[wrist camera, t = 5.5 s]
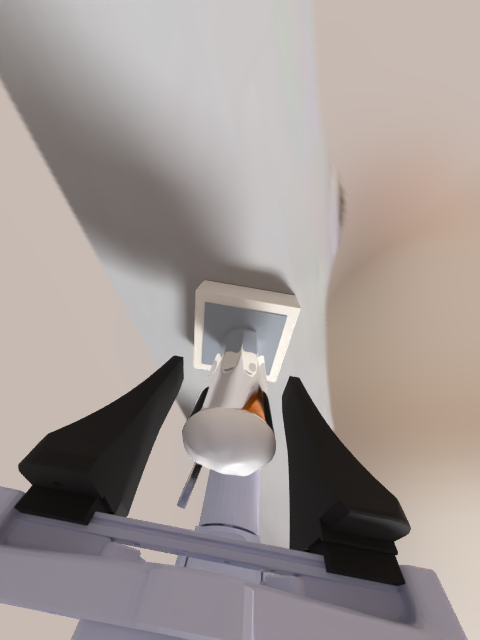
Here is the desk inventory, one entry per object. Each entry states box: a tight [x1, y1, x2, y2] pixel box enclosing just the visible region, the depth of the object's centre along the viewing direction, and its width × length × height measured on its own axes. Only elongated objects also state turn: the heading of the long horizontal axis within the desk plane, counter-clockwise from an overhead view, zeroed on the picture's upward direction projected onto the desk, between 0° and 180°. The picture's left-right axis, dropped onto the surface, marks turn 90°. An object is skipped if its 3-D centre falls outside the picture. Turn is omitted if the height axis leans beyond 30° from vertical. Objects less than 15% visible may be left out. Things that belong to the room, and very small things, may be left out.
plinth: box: [194, 280, 301, 382], centre depth 17 cm, size 8×8×3 cm
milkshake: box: [177, 327, 276, 508], centre depth 12 cm, size 4×5×10 cm
